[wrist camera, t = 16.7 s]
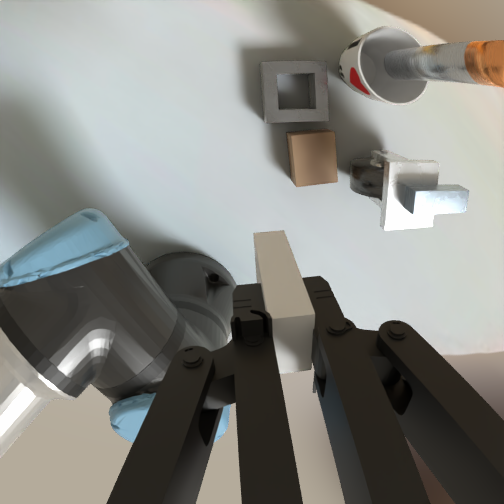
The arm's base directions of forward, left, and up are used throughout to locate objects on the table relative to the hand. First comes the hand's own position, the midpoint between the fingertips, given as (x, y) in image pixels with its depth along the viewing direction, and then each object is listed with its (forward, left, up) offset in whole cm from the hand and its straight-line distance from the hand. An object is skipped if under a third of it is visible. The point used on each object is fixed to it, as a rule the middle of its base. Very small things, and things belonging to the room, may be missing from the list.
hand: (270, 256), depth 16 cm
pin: (+15, +11, -14) cm, 23 cm away
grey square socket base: (+6, +8, -24) cm, 26 cm away
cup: (+14, +11, -25) cm, 31 cm away
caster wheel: (+16, -2, -24) cm, 29 cm away
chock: (+8, 0, -25) cm, 26 cm away
